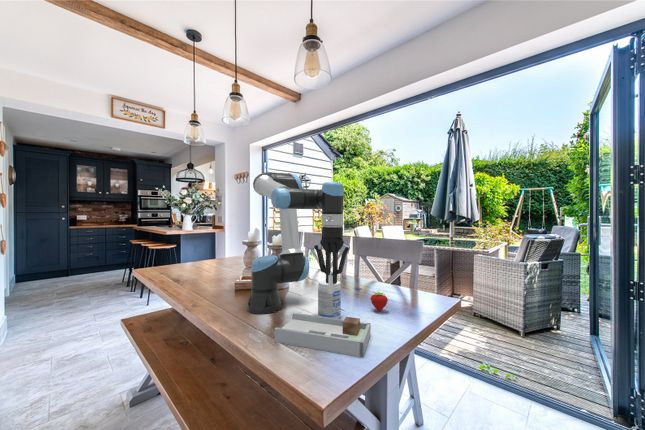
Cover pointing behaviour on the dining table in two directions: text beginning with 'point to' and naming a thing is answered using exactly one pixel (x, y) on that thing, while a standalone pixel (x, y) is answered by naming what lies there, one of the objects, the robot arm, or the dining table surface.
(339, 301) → the supplement tub
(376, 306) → the strawberry
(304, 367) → the dining table surface
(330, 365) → the dining table surface
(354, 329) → the walnut block
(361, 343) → the box
